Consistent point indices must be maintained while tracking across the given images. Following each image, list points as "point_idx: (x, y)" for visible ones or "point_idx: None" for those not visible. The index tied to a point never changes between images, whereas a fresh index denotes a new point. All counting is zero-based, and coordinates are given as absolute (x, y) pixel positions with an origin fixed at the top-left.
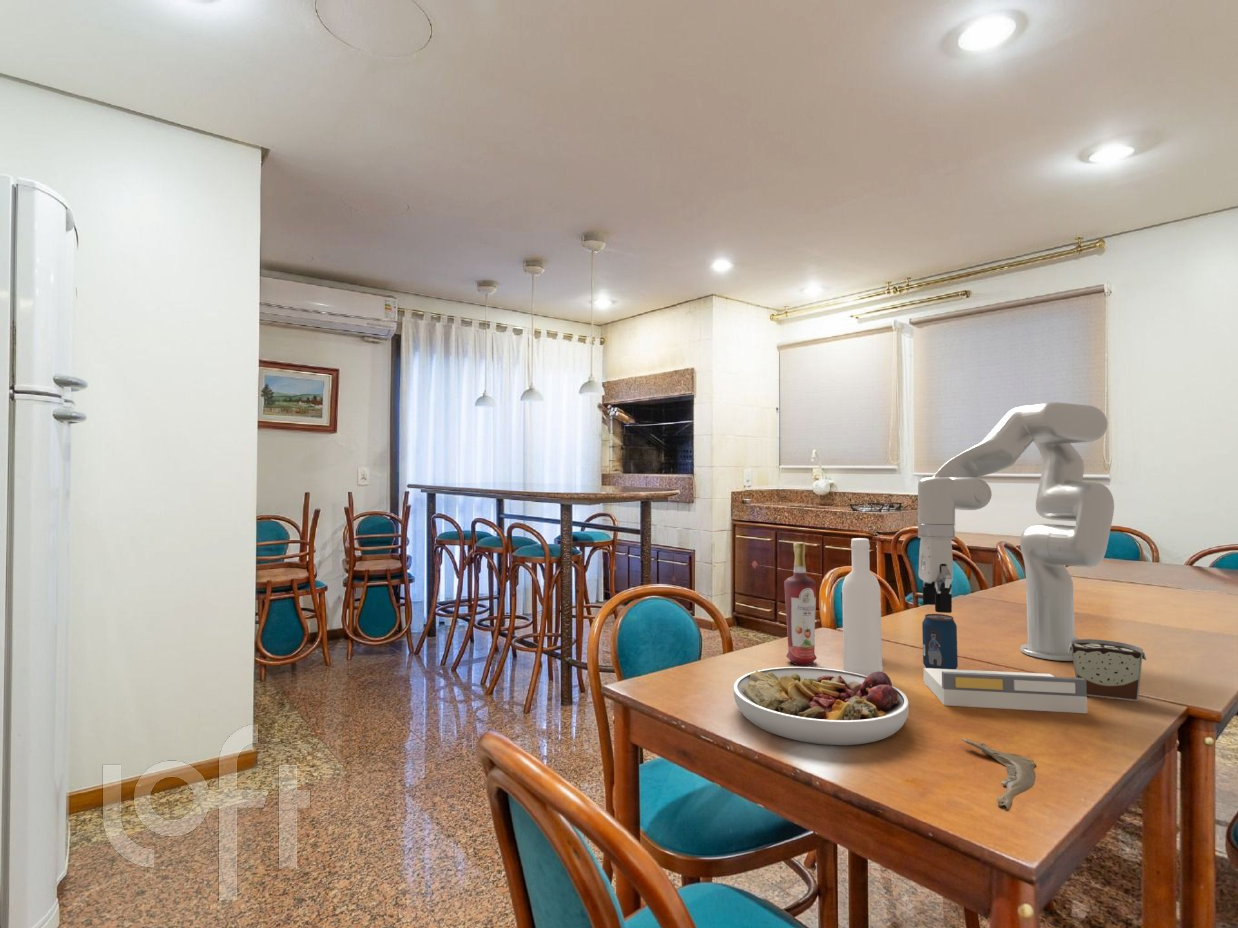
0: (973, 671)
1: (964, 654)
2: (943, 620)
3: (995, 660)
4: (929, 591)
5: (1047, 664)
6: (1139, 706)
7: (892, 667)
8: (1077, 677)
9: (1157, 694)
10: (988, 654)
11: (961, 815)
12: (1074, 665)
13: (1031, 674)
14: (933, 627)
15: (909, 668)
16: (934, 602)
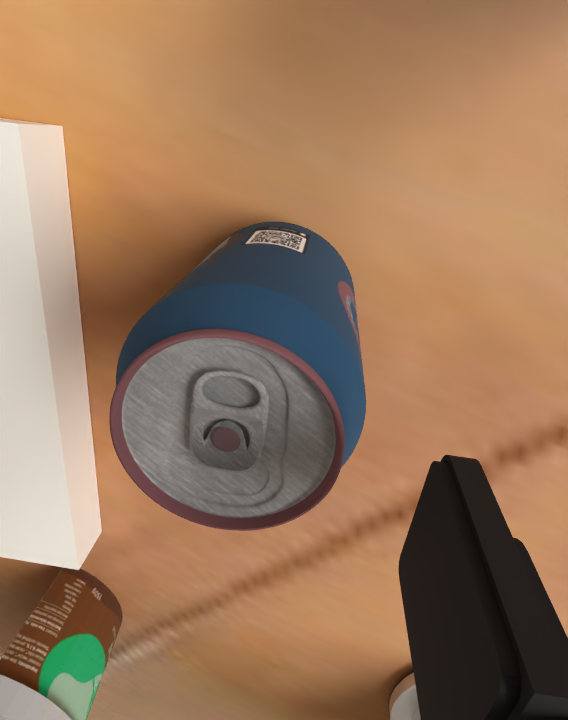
0: (29, 349)
1: (525, 493)
2: (113, 422)
3: None
4: (452, 663)
5: (365, 646)
6: (9, 618)
7: (318, 40)
8: (39, 605)
9: (116, 690)
10: None
11: None
12: (16, 637)
13: (53, 519)
14: (137, 322)
15: (301, 144)
16: (406, 559)
